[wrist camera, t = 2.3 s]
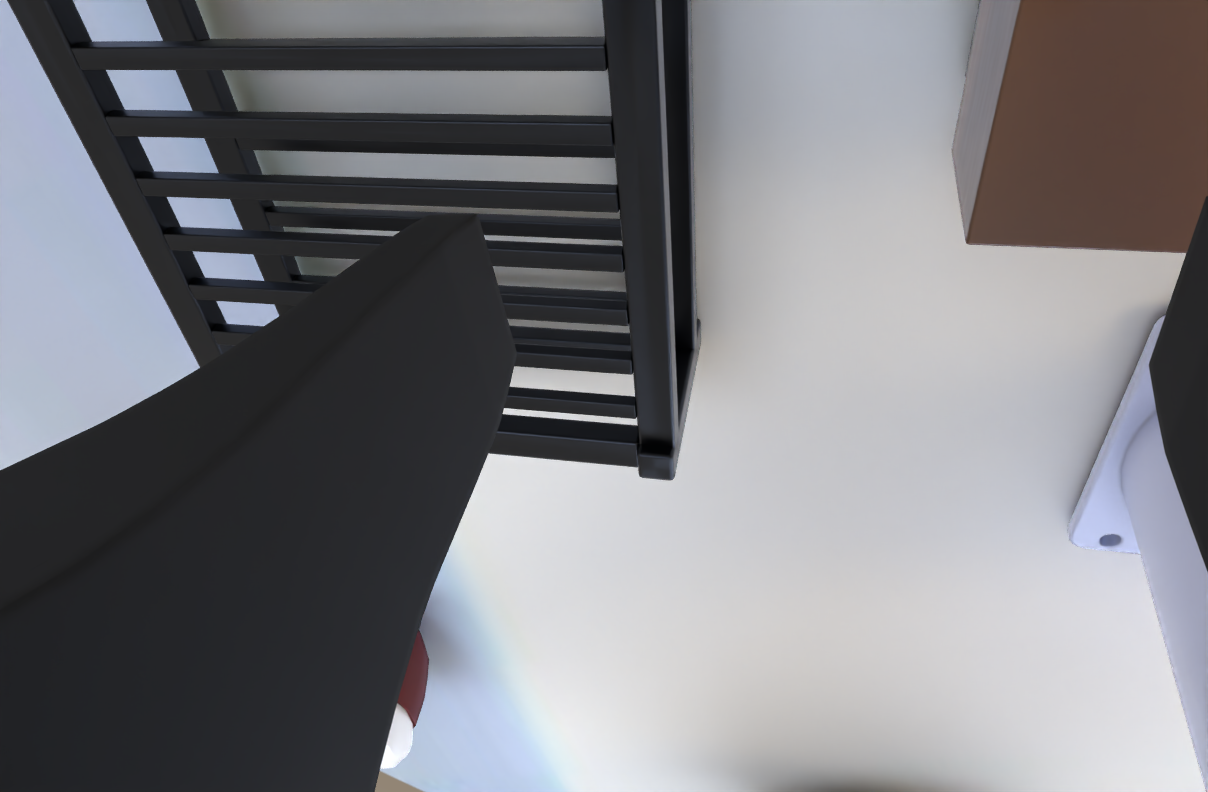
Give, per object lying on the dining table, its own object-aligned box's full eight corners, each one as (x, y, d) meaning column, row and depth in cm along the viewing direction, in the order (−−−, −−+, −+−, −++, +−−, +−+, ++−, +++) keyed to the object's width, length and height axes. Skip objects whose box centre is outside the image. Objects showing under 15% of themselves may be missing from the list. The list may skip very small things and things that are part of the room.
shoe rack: (689, -580, 12) (621, -624, 9) (701, 342, 23) (674, 482, 19) (-1, -477, 14) (-272, -482, 11) (311, 317, 25) (225, 439, 22)
